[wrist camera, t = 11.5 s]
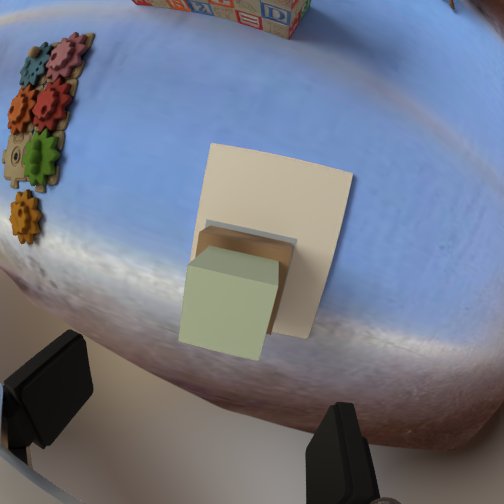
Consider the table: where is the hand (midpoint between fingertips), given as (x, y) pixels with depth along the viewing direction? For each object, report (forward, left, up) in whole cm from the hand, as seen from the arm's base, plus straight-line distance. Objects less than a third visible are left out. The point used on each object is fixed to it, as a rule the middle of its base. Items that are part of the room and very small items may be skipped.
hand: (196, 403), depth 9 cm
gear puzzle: (+34, -10, -21) cm, 41 cm away
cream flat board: (-1, -1, -21) cm, 21 cm away
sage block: (+1, +1, -16) cm, 16 cm away
